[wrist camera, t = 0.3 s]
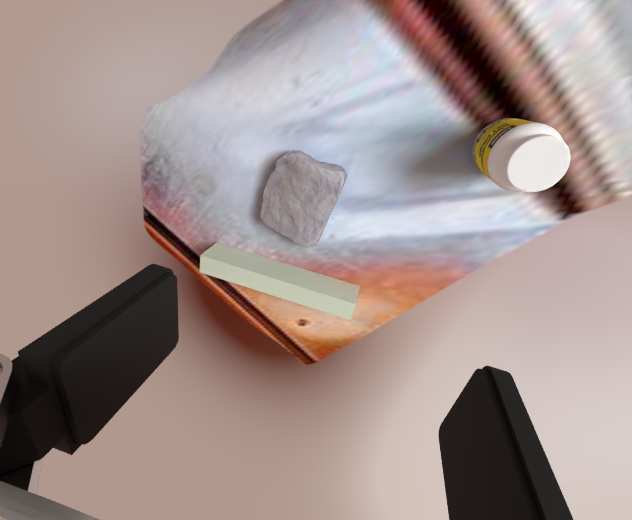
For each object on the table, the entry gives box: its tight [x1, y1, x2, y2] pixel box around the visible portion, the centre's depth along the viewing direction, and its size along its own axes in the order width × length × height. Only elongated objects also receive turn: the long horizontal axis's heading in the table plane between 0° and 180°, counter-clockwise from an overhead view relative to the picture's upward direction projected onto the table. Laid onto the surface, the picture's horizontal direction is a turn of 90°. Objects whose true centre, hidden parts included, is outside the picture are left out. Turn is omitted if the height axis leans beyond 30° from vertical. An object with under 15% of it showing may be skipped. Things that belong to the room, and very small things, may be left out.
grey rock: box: [260, 151, 347, 247], centre depth 43 cm, size 12×5×10 cm
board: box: [200, 242, 360, 320], centre depth 48 cm, size 3×24×5 cm, turn 78°
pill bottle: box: [473, 118, 570, 192], centre depth 31 cm, size 6×6×11 cm
